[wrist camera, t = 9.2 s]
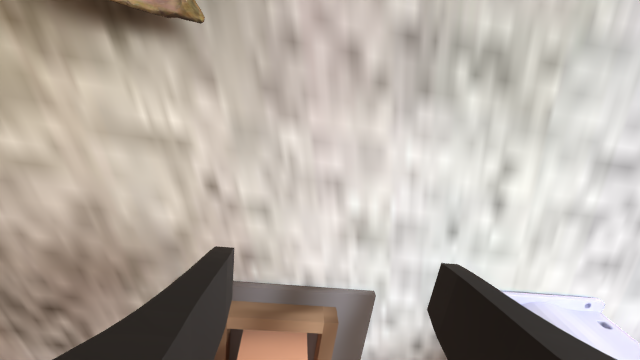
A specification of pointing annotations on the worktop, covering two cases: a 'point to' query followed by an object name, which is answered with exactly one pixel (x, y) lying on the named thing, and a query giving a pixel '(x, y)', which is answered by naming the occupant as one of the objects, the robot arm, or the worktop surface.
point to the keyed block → (272, 345)
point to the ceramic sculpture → (168, 8)
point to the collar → (300, 318)
